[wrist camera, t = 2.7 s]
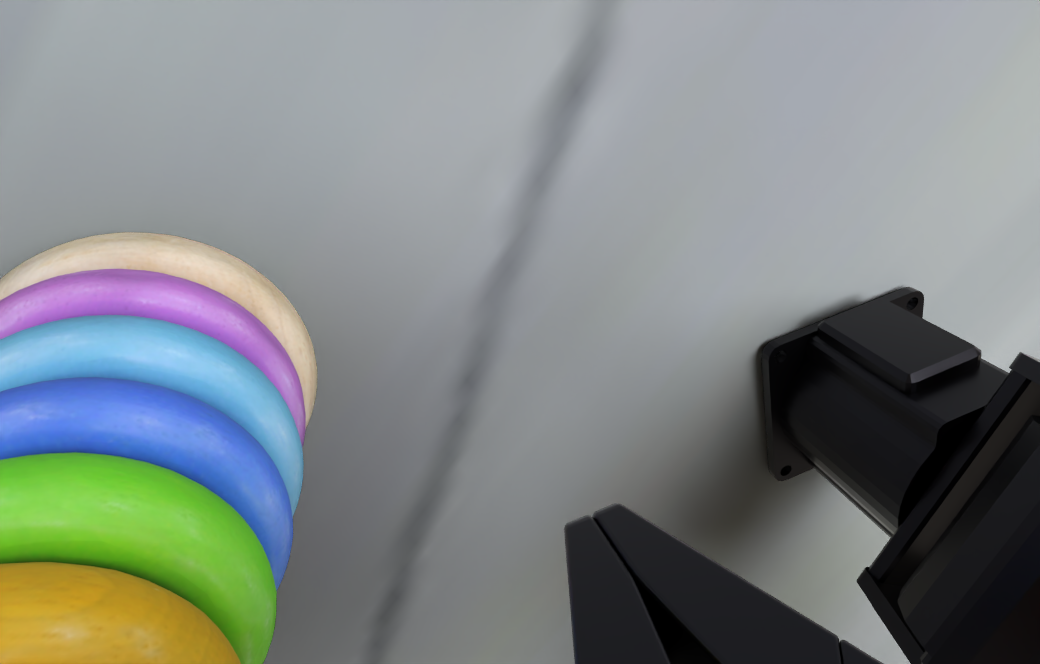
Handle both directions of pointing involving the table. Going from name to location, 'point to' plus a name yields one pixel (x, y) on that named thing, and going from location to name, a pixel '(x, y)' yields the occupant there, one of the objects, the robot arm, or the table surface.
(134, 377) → the stacking toy
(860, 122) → the table surface
